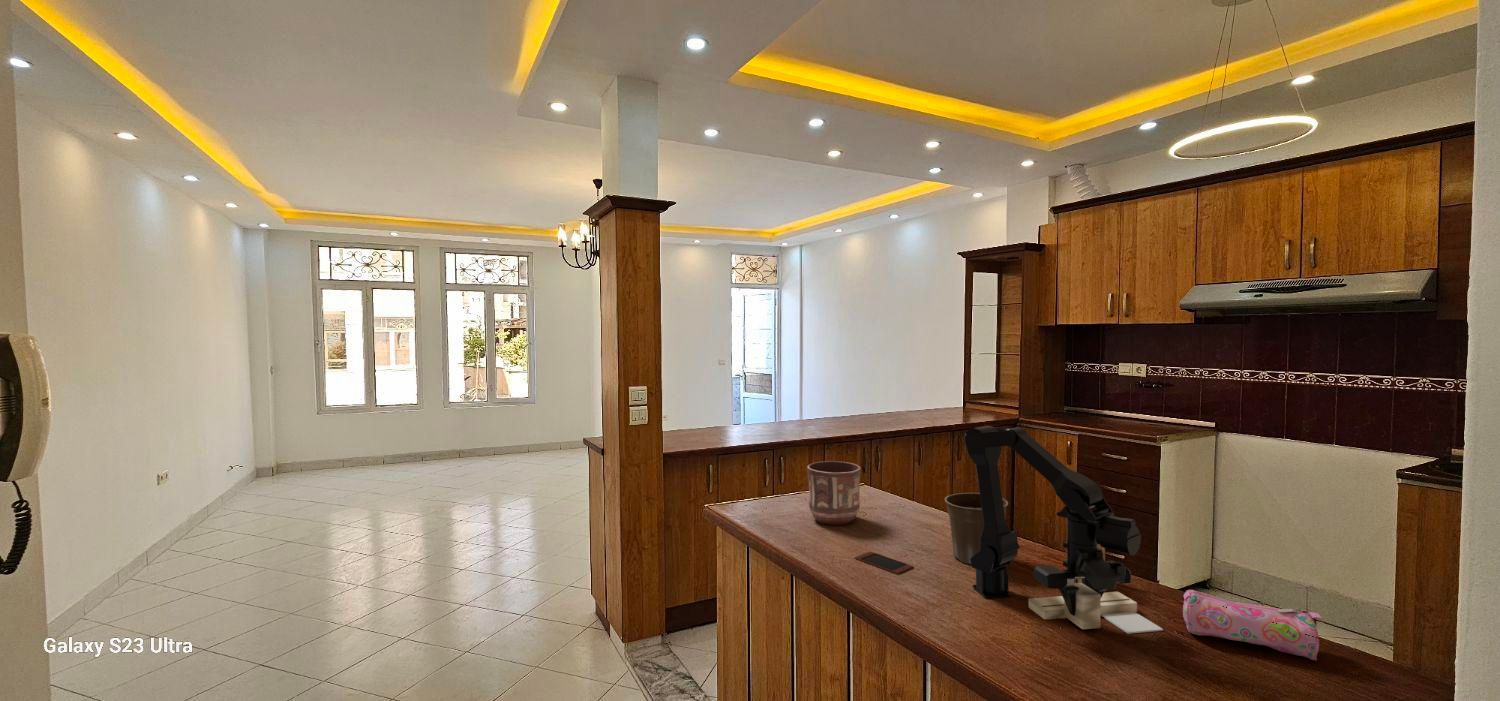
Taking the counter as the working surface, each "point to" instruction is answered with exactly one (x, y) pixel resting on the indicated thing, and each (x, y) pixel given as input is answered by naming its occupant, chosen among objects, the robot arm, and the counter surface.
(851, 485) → the pottery
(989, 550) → the robot arm
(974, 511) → the plant pot
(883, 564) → the smartphone
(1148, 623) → the grey end pad
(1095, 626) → the maple block
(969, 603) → the counter surface
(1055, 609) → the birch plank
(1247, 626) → the pencil case
